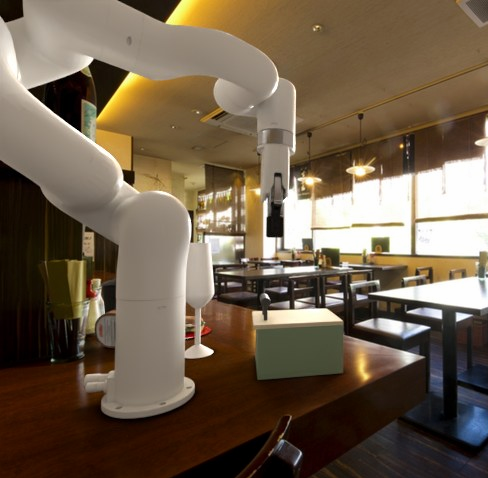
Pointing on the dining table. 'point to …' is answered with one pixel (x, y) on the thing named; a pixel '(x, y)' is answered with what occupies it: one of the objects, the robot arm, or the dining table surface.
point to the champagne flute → (199, 290)
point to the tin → (106, 329)
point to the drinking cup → (109, 295)
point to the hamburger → (191, 327)
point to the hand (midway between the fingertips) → (274, 237)
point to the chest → (298, 351)
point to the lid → (291, 317)
